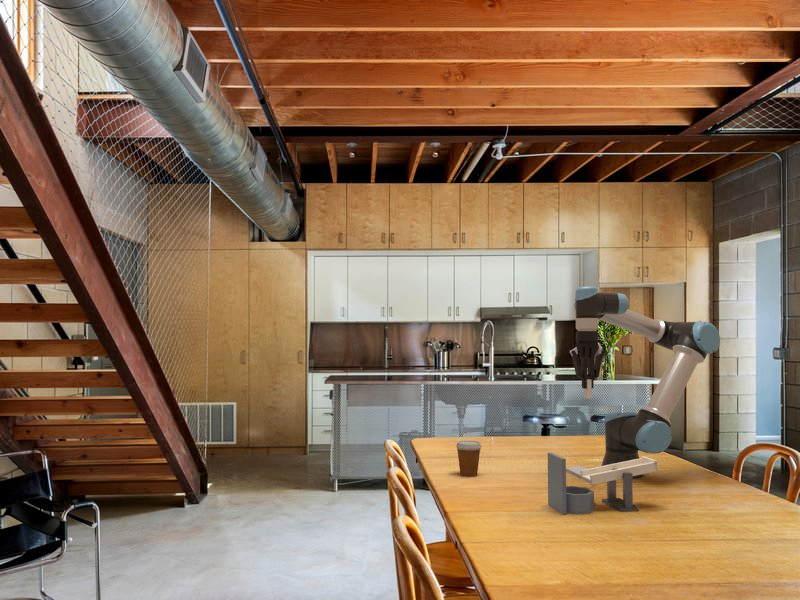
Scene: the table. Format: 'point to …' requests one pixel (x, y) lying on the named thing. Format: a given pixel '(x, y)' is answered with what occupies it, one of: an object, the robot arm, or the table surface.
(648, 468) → the lever
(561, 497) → the cup
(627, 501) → the trough stand
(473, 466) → the disposable coffee cup
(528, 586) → the table surface
